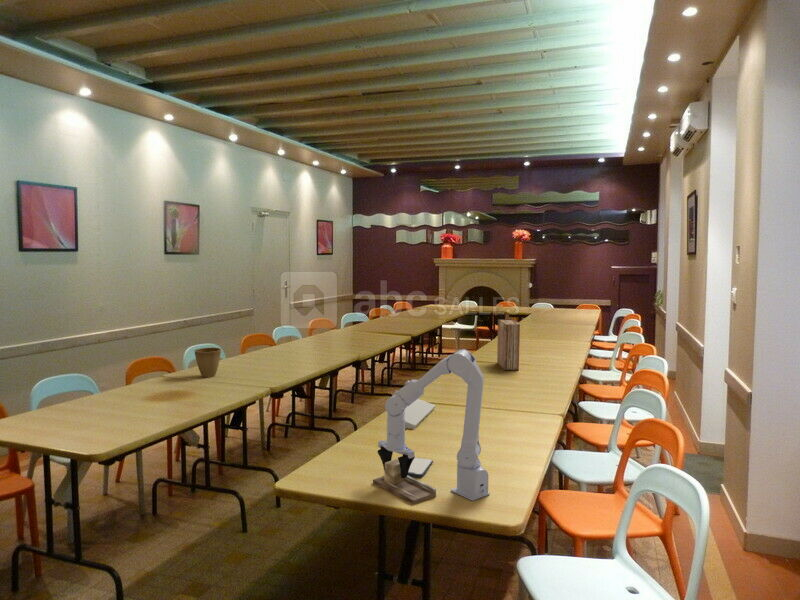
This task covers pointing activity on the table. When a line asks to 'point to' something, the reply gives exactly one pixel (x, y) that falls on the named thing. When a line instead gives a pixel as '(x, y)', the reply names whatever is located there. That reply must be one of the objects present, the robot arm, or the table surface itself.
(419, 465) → the smartphone
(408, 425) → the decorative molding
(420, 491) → the board
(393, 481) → the block
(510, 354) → the tall wooden block
